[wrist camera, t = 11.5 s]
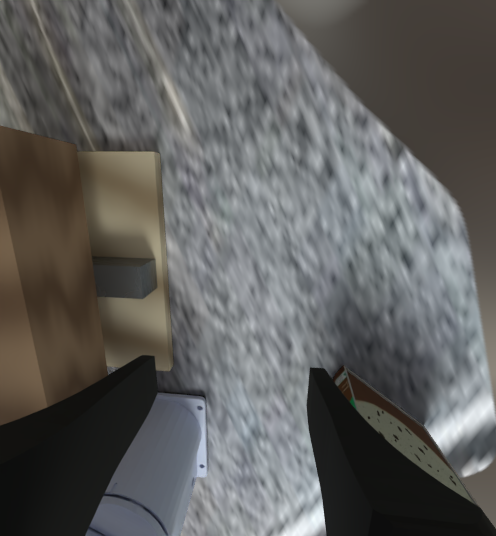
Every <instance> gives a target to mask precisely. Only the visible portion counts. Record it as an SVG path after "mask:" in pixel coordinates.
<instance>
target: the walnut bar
mask: <svg viewBox="0 0 496 536" xmlns="http://www.w3.org/2000/svg"><path fill="white" fill-rule="evenodd" d="M106 376H108V371H107V364H106V357H105V350H104V342H103V335H102V328H101V321H100V313H99V306H98V299H97V292H96V284H95V277H94V270H93V263H92V256H91V248H90V241H89V234H88V227H87V219H86V212H85V205H84V198H83V190H82V183H81V176H80V169H79V162H78V154H77V147H76V144H72V143H68V142H64V141H60V140H56V139H52V138H48V137H44V136H40V135H36V134H32V133H28V132H24V131H20V130H16V129H12V128H8V127H4V126H0V425H3V424H6V423H9V422H12V421H14V420H17V419H20V418H22V417H25V416H27V415H30V414H32V413H34V412H37V411H39V410H42V409H44V408H47V407H49V406H51V405H53V404H56V403H58V402H60V401H62V400H64V399H66V398H68V397H70V396H72V395H74V394H76V393H78V392H80V391H82V390H83V389H85V388H87V387H89V386H90V385H92V384H94V383H96V382H98V381H99V380H101V379H103V378H104V377H106Z"/></svg>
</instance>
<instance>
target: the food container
mask: <svg viewBox="0 0 496 536" xmlns="http://www.w3.org/2000/svg"><path fill="white" fill-rule="evenodd" d="M333 381H334V382H335V384H336V385H337V386H338V388H339V389H340V390H341V392H342V393H343V394H344V396H345V397H346V398H347V399H348V400H349V402H350V403H351V404H352V405H353V406H354V408H355V409H356V410H357V411H358V412H359V413H360V414H361V416H362V417H363V418H364V419H365V420H366V421H367V422H368V423H369V424H370V425H371V426H372V427H373V428H374V429H375V430H376V431H377V432H378V433H379V434H380V435H381V436H382V437H384V438H385V439H386V440H387V441H388V442H389V443H390V444H391V445H393V446H394V447H395V448H396V449H397V450H399V451H400V452H401V453H402V454H403V455H405V456H406V457H407V458H408V459H410V460H411V461H412V462H413V463H415V464H416V465H417V466H419V467H420V468H421V469H423V470H424V471H426V472H427V473H428V474H430V475H431V476H433V477H434V478H435V479H437V480H438V481H440V482H441V483H442V484H444V485H445V486H447V487H449V488H450V489H452V490H453V491H455V492H456V493H458V494H460V495H461V496H463V497H464V498H466V499H467V500H469V501H471V502H472V503H474V504H475V505H477V506H478V507H479V505H478V504H477V502H476V501H475V500H474V498H473V497H472V495H471V494H470V492H469V491H468V489H467V488H466V486H465V485H464V483H463V482H462V481H461V479H460V478H459V476H458V475H457V473H456V472H455V470H454V469H453V467H452V466H451V464H450V463H449V462H448V460H447V459H446V457H445V456H444V454H443V453H442V451H441V450H440V448H439V447H438V445H437V444H436V443H435V441H434V440H433V438H432V437H431V435H430V434H429V432H428V431H427V429H426V428H425V426H424V425H422V424H421V423H420V422H418V421H417V420H416V419H414V418H413V417H412V416H410V415H409V414H408V413H406V412H405V411H404V410H402V409H401V408H400V407H398V406H397V405H396V404H394V403H393V402H392V401H390V400H389V399H388V398H386V397H385V396H384V395H383V394H381V393H380V392H379V391H377V390H376V389H375V388H373V387H372V386H371V385H369V384H368V383H367V382H365V381H364V380H363V379H361V378H360V377H359V376H357V375H356V374H355V373H353V372H352V371H351V370H349V369H348V368H347V367H345V366H344V365H343V366H342V367H341V368H340V369H339V371H338V372H337V373H336V374H335V376H334V378H333Z"/></svg>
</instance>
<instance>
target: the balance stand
mask: <svg viewBox="0 0 496 536" xmlns="http://www.w3.org/2000/svg"><path fill="white" fill-rule="evenodd" d="M77 154H78V162H79V169H80V176H81V183H82V190H83V198H84V205H85V212H86V219H87V227H88V234H89V241H90V248H91V256H92V263H93V270H94V277H95V284H96V292H97V299H98V306H99V313H100V321H101V328H102V335H103V342H104V350H105V357H106V364H107V366H108V367H120V368H121V367H122V366H124V365H126V364H127V363H129V362H131V361H132V360H134V359H136V358H137V357H139V356H141V355H151V356H155V365H156V370H158V371H170V370H171V368H172V366H173V365H174V363H173V348H172V332H171V317H170V301H169V286H168V270H167V255H166V239H165V224H164V208H163V193H162V177H161V162H160V153H157V152H114V151H77Z"/></svg>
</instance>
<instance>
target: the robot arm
mask: <svg viewBox="0 0 496 536" xmlns="http://www.w3.org/2000/svg"><path fill="white" fill-rule="evenodd" d="M199 406H202V407H199ZM307 415H308V425H309V432H310V437H311V443H312V448H313V452H314V457H315V462H316V467H317V472H318V477H319V482H320V487H321V493H322V500H323V508H324V516H325V525H326V534H327V536H496V529H495V527H494V526H493V525H492V523H491V522H490V520H489V519H488V518H487V516H486V515H485V514H484V512H483V511H482V509H481V508H480V507H478V506H477V505H475V504H474V503H472V502H471V501H469V500H467V499H466V498H464V497H463V496H461V495H460V494H458V493H456V492H455V491H453V490H452V489H450V488H449V487H447V486H445V485H444V484H442V483H441V482H440V481H438V480H437V479H435V478H434V477H433V476H431V475H430V474H428V473H427V472H426V471H424V470H423V469H421V468H420V467H419V466H417V465H416V464H415V463H413V462H412V461H411V460H410V459H408V458H407V457H406V456H405V455H403V454H402V453H401V452H400V451H399V450H397V449H396V448H395V447H394V446H393V445H391V444H390V443H389V442H388V441H387V440H386V439H385V438H384V437H382V436H381V435H380V434H379V433H378V432H377V431H376V430H375V429H374V428H373V427H372V426H371V425H370V424H369V423H368V422H367V421H366V420H365V419H364V418H363V417H362V416H361V414H360V413H359V412H358V411H357V410H356V409H355V408H354V406H353V405H352V404H351V403H350V402H349V400H348V399H347V398H346V397H345V396H344V394H343V393H342V392H341V390H340V389H339V388H338V386H337V385H336V384H335V382H334V381H333V380H332V378H331V377H330V376H329V374H328V373H327V371H326V370H325V369H323V368H310V375H309V386H308V397H307ZM207 473H208V456H207V422H206V400H205V398H204V397H201V396H191V395H180V394H169V393H158V389H157V377H156V365H155V356H151V355H141V356H139V357H137V358H136V359H134V360H132V361H131V362H129V363H127V364H126V365H124V366H122V367H121V368H119V369H118V370H116V371H114V372H113V373H111V374H109V375H108V376H106V377H104V378H103V379H101V380H99V381H98V382H96V383H94V384H92V385H90V386H89V387H87V388H85V389H83V390H82V391H80V392H78V393H76V394H74V395H72V396H70V397H68V398H66V399H64V400H62V401H60V402H58V403H56V404H53V405H51V406H49V407H47V408H44V409H42V410H39V411H37V412H34V413H32V414H30V415H27V416H25V417H22V418H20V419H17V420H14V421H12V422H9V423H6V424H3V425H0V536H180V534H181V531H182V527H183V524H184V520H185V517H186V513H187V510H188V506H189V502H190V499H191V495H192V492H193V488H194V485H195V481H196V478H197V477H206V476H207Z"/></svg>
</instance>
